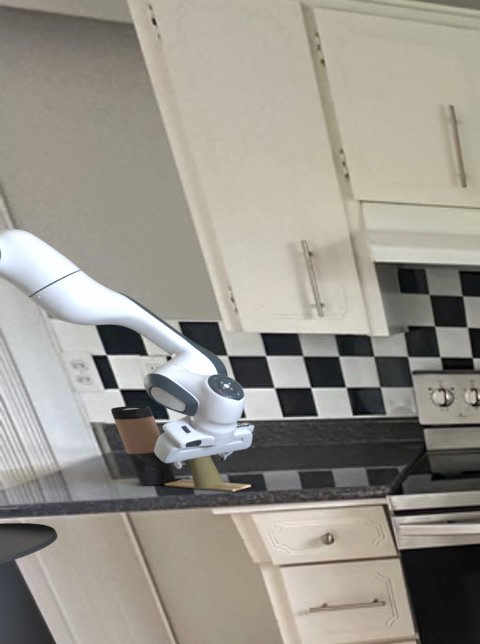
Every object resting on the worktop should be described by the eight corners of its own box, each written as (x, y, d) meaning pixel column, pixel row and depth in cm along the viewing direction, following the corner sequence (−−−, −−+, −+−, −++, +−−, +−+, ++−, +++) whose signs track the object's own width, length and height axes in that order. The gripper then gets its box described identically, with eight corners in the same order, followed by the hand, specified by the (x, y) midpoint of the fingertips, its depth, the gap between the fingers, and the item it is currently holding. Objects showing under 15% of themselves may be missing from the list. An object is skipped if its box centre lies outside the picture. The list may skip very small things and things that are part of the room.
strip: (233, 491, 170) (232, 489, 170) (165, 485, 173) (164, 483, 173) (251, 486, 174) (250, 484, 174) (184, 481, 178) (183, 479, 178)
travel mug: (184, 478, 180) (158, 405, 173) (160, 485, 173) (132, 410, 166) (156, 478, 180) (128, 405, 172) (131, 485, 173) (100, 409, 165)
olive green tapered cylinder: (199, 488, 170) (184, 446, 165) (190, 484, 173) (175, 443, 168) (227, 483, 174) (213, 442, 170) (218, 480, 177) (205, 440, 173)
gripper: (247, 412, 173) (234, 445, 180) (155, 425, 156) (145, 461, 163) (263, 430, 174) (250, 463, 181) (173, 445, 156) (163, 480, 163)
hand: (200, 462), depth 171 cm, fingers open, 8 cm apart
